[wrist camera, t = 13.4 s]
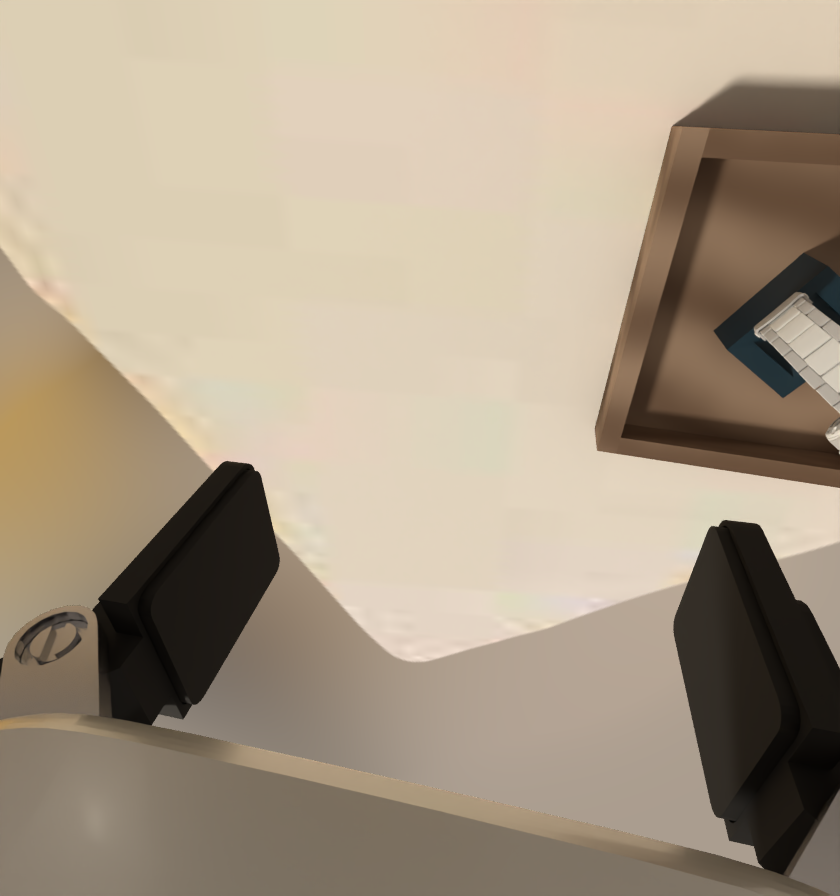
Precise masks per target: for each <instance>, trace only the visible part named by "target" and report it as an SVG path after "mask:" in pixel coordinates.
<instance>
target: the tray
mask: <svg viewBox="0 0 840 896" xmlns="http://www.w3.org/2000/svg"><path fill="white" fill-rule="evenodd" d="M803 253H805V254H807V255H809V256H811V257H813V258H814V259H816V260H818V261H820V262H822V263H824V264H825V265H827V266H829V267H830V268H831V269H832V270H833V271H834V272H835V273H836V274H837V275H838V276H839V277H840V134H824V133H804V132H784V131H763V130H743V129H723V128H703V127H682V126H672V128H671V132H670V136H669V140H668V144H667V147H666V151H665V155H664V159H663V163H662V167H661V171H660V175H659V179H658V183H657V187H656V191H655V195H654V198H653V202H652V206H651V210H650V214H649V218H648V222H647V226H646V230H645V234H644V238H643V242H642V246H641V250H640V253H639V257H638V261H637V265H636V269H635V273H634V277H633V281H632V285H631V289H630V293H629V297H628V301H627V304H626V308H625V312H624V316H623V320H622V324H621V328H620V332H619V336H618V340H617V344H616V348H615V352H614V355H613V359H612V363H611V367H610V371H609V375H608V379H607V383H606V387H605V391H604V395H603V399H602V403H601V406H600V410H599V414H598V418H597V422H596V426H595V435H596V445H597V451H603V452H609V453H616V454H622V455H629V456H635V457H642V458H648V459H655V460H661V461H668V462H674V463H681V464H688V465H694V466H701V467H707V468H714V469H720V470H727V471H733V472H740V473H746V474H753V475H759V476H766V477H772V478H779V479H785V480H792V481H798V482H805V483H811V484H818V485H824V486H831V487H837V488H840V454H839V451H840V450H838V449H837V448H836V447H835V446H834V445H833V444H831V443H830V442H829V440H828V439H827V437H826V435H825V434H826V432H827V430H828V428H829V427H830V425H831V424H832V423H833V422H834V421H835V420H836V419H838V418H839V417H840V413H839V412H838V411H837V410H836V409H835V408H834V407H833V406H831V405H830V404H829V403H828V402H827V401H826V400H825V399H824V398H823V397H822V396H821V395H820V394H819V393H818V392H817V391H816V389H817V388H816V389H813V388H812V387H811V386H810V385H809V384H808V383H807V382H805V383H804V384H802V385H801V386H799V387H798V388H797V389H795V390H794V391H793V392H791V393H790V394H788V395H787V396H786V397H784V398H782V397H781V396H780V395H779V394H777V393H776V392H775V391H774V390H773V389H772V388H770V387H769V386H768V385H767V384H766V383H765V382H764V381H762V380H761V379H760V378H759V377H758V376H757V375H755V374H754V373H753V372H752V371H751V370H750V369H749V368H747V367H746V366H745V365H744V364H743V363H742V362H740V361H739V360H738V359H737V358H736V357H735V356H733V355H732V354H731V353H730V352H729V351H728V350H727V349H726V348H725V346H724V345H723V344H722V342H721V341H720V339H719V338H718V337H717V335H716V334H715V332H714V330H715V329H716V328H717V327H718V326H719V325H721V324H722V323H723V322H724V321H725V320H726V319H727V318H729V317H730V316H731V315H732V314H733V313H734V312H736V311H737V310H738V309H739V308H740V307H741V306H742V305H744V304H745V303H746V302H747V301H748V300H749V299H751V298H752V297H753V296H754V295H755V294H756V293H758V292H759V291H760V290H761V289H762V288H763V287H764V286H766V285H767V284H768V283H769V282H770V281H771V280H773V279H774V278H775V277H776V276H777V275H778V274H779V273H781V272H782V271H783V270H784V269H785V268H786V267H788V266H789V265H790V264H791V263H792V262H793V261H794V260H796V259H797V258H798V257H799V256H800V255H801V254H803ZM823 375H824V374H823ZM819 387H820V386H819ZM819 387H818V388H819Z"/></svg>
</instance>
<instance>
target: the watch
mask: <svg viewBox="0 0 840 896" xmlns="http://www.w3.org/2000/svg"><path fill="white" fill-rule="evenodd" d="M714 332H715V334H716V335H717V337H718V338H719V339H720V341H721V342H722V344H723V345H724V346H725V348H726V349H727V350H728V351H729V352H730V353H731V354H732V355H733V356H735V357H736V358H737V359H738V360H739V361H740V362H742V363H743V364H744V365H745V366H746V367H747V368H749V369H750V370H751V371H752V372H753V373H754V374H755V375H757V376H758V377H759V378H760V379H761V380H762V381H764V382H765V383H766V384H767V385H768V386H769V387H770V388H772V389H773V390H774V391H775V392H776V393H777V394H779V395H780V396H781V397H782V398H784V397H786V396H787V395H788V394H790V393H791V392H793V391H794V390H795V389H797V388H798V387H799V386H801V385H802V384H804V383H805V382H807V383H808V384H809V385H810V386H811V387H812V388H813V389H816V388H817V389H816V391H817V392H818V393H819V394H820V395H821V396H822V397H823V398H824V399H825V400H826V401H827V402H828V403H829V404H830V405H831V406H833V407H834V408H835V409H836V410H837V411H838V412H839V413H840V277H839V276H838V275H837V274H836V273H835V272H834V271H833V270H832V269H831V268H830V267H829V266H827V265H825V264H824V263H822V262H820V261H818V260H816V259H814V258H813V257H811V256H809V255H807V254H805V253H803V254H801V255H800V256H799V257H798V258H797V259H796V260H794V261H793V262H792V263H791V264H790V265H789V266H788V267H786V268H785V269H784V270H783V271H782V272H781V273H779V274H778V275H777V276H776V277H775V278H774V279H773V280H771V281H770V282H769V283H768V284H767V285H766V286H764V287H763V288H762V289H761V290H760V291H759V292H758V293H756V294H755V295H754V296H753V297H752V298H751V299H749V300H748V301H747V302H746V303H745V304H744V305H742V306H741V307H740V308H739V309H738V310H737V311H736V312H734V313H733V314H732V315H731V316H730V317H729V318H727V319H726V320H725V321H724V322H723V323H722V324H721V325H719V326H718V327H717V328H716V329H715V330H714ZM823 374H824V375H823ZM819 386H820V387H819ZM818 387H819V388H818ZM825 435H826V437H827V439H828V440H829V442H830V443H831V444H833V445H834V446H835V447H836V448H837V449H838V450H840V417H839V418H838V419H836V420H835V421H834V422H833V423H832V424H831V425H830V427H829V428H828V430H827V432H826V434H825ZM839 454H840V451H839Z"/></svg>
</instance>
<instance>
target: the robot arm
mask: <svg viewBox="0 0 840 896" xmlns="http://www.w3.org/2000/svg"><path fill="white" fill-rule="evenodd" d="M279 562H280V557H279V553H278V548H277V544H276V539H275V535H274V530H273V526H272V522H271V517H270V513H269V509H268V504H267V500H266V496H265V491H264V487H263V483H262V478H261V475H260V473H259V472H258V471H255V470H254V467H253V466H252V465H251V464H247V463H238V462H230V461H226V462H223V463H222V464H220V466H219V467H218V468H217V469H216V470H215V471H214V472H213V473H212V474H211V475H210V477H209V478H208V479H207V480H206V481H205V482H204V483H203V484H202V485H201V487H200V488H199V489H198V490H197V491H196V492H195V493H194V494H193V495H192V496H191V498H189V500H188V501H187V502H186V503H185V504H184V505H183V506H182V507H181V508H180V509H179V511H178V512H177V513H176V514H175V515H174V516H173V517H172V518H171V519H170V520H169V522H168V523H167V524H166V525H165V526H164V527H163V528H162V529H161V530H160V532H159V533H158V534H157V535H156V536H155V537H154V538H153V539H152V540H151V541H150V543H148V545H147V546H146V547H145V548H144V549H143V550H142V551H141V552H140V553H139V555H138V556H137V557H136V558H135V559H134V560H133V561H132V562H131V563H130V564H129V565H128V567H127V568H126V569H125V570H124V571H123V572H122V573H121V574H120V575H119V576H118V578H117V579H116V580H115V581H114V582H113V583H112V584H111V585H110V586H109V588H107V590H106V591H105V592H104V593H103V594H102V595H101V596H100V597H99V598H98V599H99V601H100V602H99V603H98V604H97V605H96V606H95V608H94V609H93V610H91V609H90V608H88V607H84V606H81V605H69V606H68V605H67V606H63V607H59V608H55V609H52V610H50V611H48V612H45V613H43V614H41V615H39V616H37V617H36V618H34V619H33V620H31V621H29V622H28V623H26V624H25V625H24V626H23V627H22V628H21V629H20V630H19V631H18V632H16V633H15V635H14V636H13V638H12V639H11V640H10V642H9V643H8V645H7V647H6V650H5V653H4V657H3V658H1V659H0V896H840V668H839V667H838V664H837V662H836V660H835V658H834V656H833V654H832V652H831V650H830V648H829V646H828V644H827V642H826V640H825V638H824V636H823V634H822V632H821V630H820V628H819V626H818V624H817V622H816V620H815V618H814V616H813V614H812V612H811V611H810V609H809V607H808V606H807V605H806V604H805V603H803V602H802V601H799V600H796V599H795V597H794V595H793V593H792V591H791V589H790V587H789V585H788V583H787V581H786V578H785V576H784V574H783V572H782V570H781V568H780V566H779V564H778V562H777V559H776V557H775V555H774V553H773V551H772V549H771V547H770V545H769V543H768V541H767V538H766V536H765V534H764V532H763V530H762V528H761V527H760V525H758V524H755V523H746V522H738V521H729V520H724V521H722V522H721V523H720V525H719V527H715V526H711V527H710V528H709V530H708V532H707V535H706V537H705V540H704V542H703V545H702V548H701V550H700V553H699V555H698V558H697V561H696V563H695V566H694V568H693V571H692V574H691V576H690V579H689V581H688V584H687V587H686V589H685V592H684V595H683V597H682V600H681V602H680V605H679V607H678V610H677V613H676V615H675V619H674V637H675V642H676V647H677V651H678V656H679V660H680V665H681V669H682V674H683V679H684V683H685V688H686V692H687V697H688V701H689V706H690V711H691V715H692V720H693V724H694V728H695V733H696V738H697V743H698V747H699V752H700V757H701V761H702V766H703V770H704V775H705V780H706V784H707V789H708V793H709V798H710V803H711V806H712V810H713V812H714V814H715V815H716V817H718V818H723V819H724V821H725V825H726V829H727V834H728V838H729V841H733V842H737V843H742V844H746V845H751V846H754V848H755V852H756V856H757V860H758V863H759V864H760V865H761V866H762V867H763V868H764V869H762V868H759V867H756V866H752V865H749V864H745V863H742V862H739V861H735V860H732V859H729V858H725V857H722V856H718V855H715V854H711V853H707V852H703V851H699V850H694V849H691V848H686V847H683V846H679V845H675V844H671V843H666V842H663V841H658V840H655V839H651V838H647V837H643V836H638V835H634V834H630V833H627V832H623V831H619V830H614V829H610V828H606V827H602V826H597V825H593V824H588V823H584V822H580V821H575V820H571V819H567V818H563V817H558V816H554V815H549V814H545V813H541V812H537V811H532V810H528V809H524V808H520V807H515V806H511V805H507V804H502V803H498V802H494V801H489V800H485V799H481V798H476V797H472V796H468V795H463V794H459V793H454V792H450V791H445V790H441V789H437V788H433V787H428V786H424V785H419V784H415V783H411V782H406V781H402V780H397V779H393V778H389V777H384V776H380V775H375V774H371V773H366V772H362V771H357V770H353V769H348V768H344V767H340V766H335V765H331V764H327V763H322V762H318V761H313V760H309V759H304V758H300V757H295V756H291V755H286V754H282V753H277V752H272V751H268V750H263V749H259V748H254V747H250V746H245V745H241V744H236V743H231V742H227V741H223V740H218V739H213V738H209V737H204V736H200V735H196V734H191V733H186V732H181V731H175V730H171V729H166V728H161V727H156V726H152V724H153V722H154V721H155V719H156V717H157V716H158V714H161V715H165V716H170V717H174V718H179V719H184V717H185V716H186V714H187V712H188V711H189V709H190V707H191V706H192V704H193V705H195V704H198V703H199V702H200V701H201V700H202V698H203V697H204V695H205V694H206V692H207V690H208V688H209V687H210V685H211V683H212V681H213V680H214V678H215V677H216V675H217V673H218V671H219V670H220V668H221V666H222V665H223V663H224V661H225V660H226V658H227V656H228V654H229V653H230V651H231V649H232V648H233V646H234V644H235V642H236V641H237V639H238V637H239V636H240V634H241V632H242V630H243V629H244V627H245V625H246V624H247V622H248V620H249V619H250V617H251V615H252V614H253V612H254V610H255V608H256V607H257V605H258V603H259V601H260V600H261V598H262V596H263V595H264V593H265V591H266V590H267V588H268V586H269V585H270V583H271V581H272V579H273V578H274V576H275V574H276V572H277V570H278V567H279Z"/></svg>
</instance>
